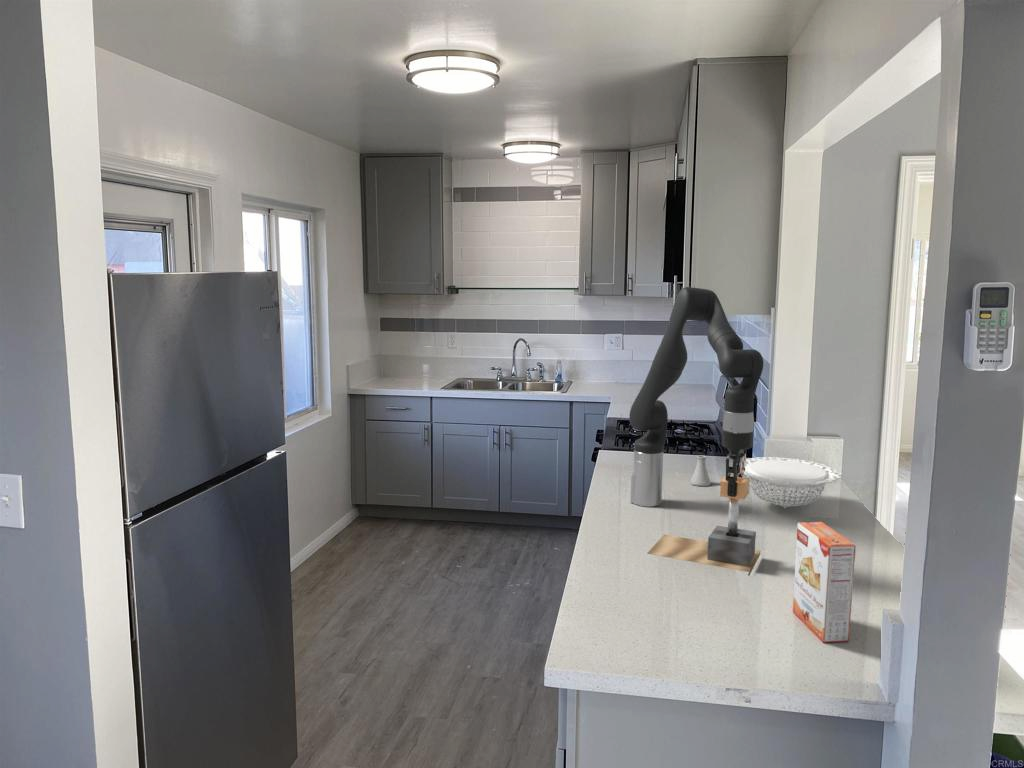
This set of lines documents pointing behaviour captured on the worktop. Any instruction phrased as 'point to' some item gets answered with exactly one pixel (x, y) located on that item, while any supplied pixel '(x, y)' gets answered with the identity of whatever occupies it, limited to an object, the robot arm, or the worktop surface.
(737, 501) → the steel shaft
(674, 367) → the robot arm
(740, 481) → the block
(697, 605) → the worktop surface
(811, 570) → the cracker box
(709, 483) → the flask
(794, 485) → the white openwork bowl
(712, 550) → the bearing block
